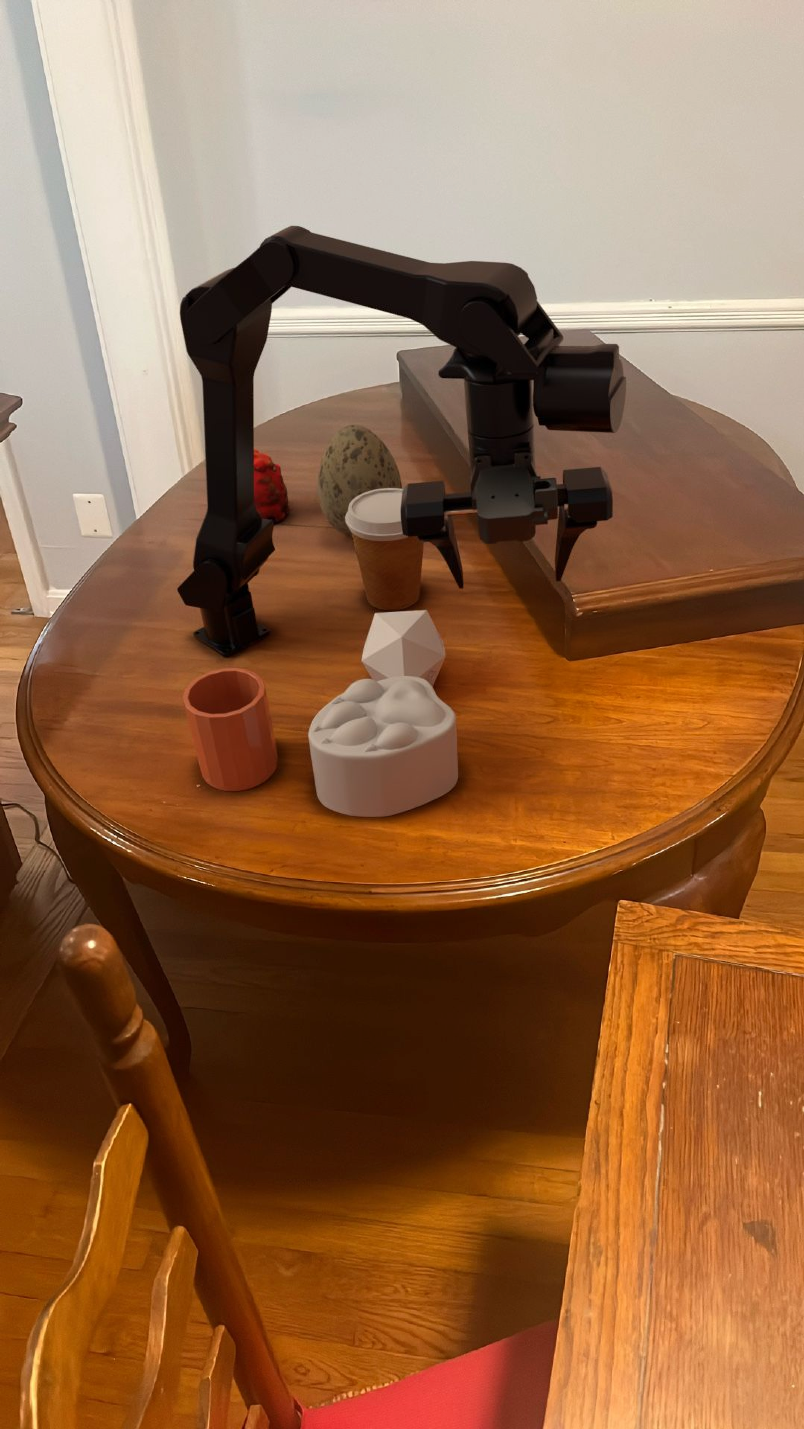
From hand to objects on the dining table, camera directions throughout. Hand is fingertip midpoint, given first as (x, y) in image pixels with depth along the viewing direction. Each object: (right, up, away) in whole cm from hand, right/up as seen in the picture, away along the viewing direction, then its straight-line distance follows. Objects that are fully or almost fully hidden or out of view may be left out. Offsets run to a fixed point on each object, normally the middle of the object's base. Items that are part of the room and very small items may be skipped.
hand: (509, 583), depth 95 cm
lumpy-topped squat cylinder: (-12, -19, -1) cm, 22 cm away
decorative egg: (-15, +11, +36) cm, 41 cm away
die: (-10, -9, +10) cm, 17 cm away
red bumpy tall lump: (-29, +15, +42) cm, 54 cm away
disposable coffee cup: (-11, +1, +24) cm, 26 cm away
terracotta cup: (-26, -18, +1) cm, 31 cm away
